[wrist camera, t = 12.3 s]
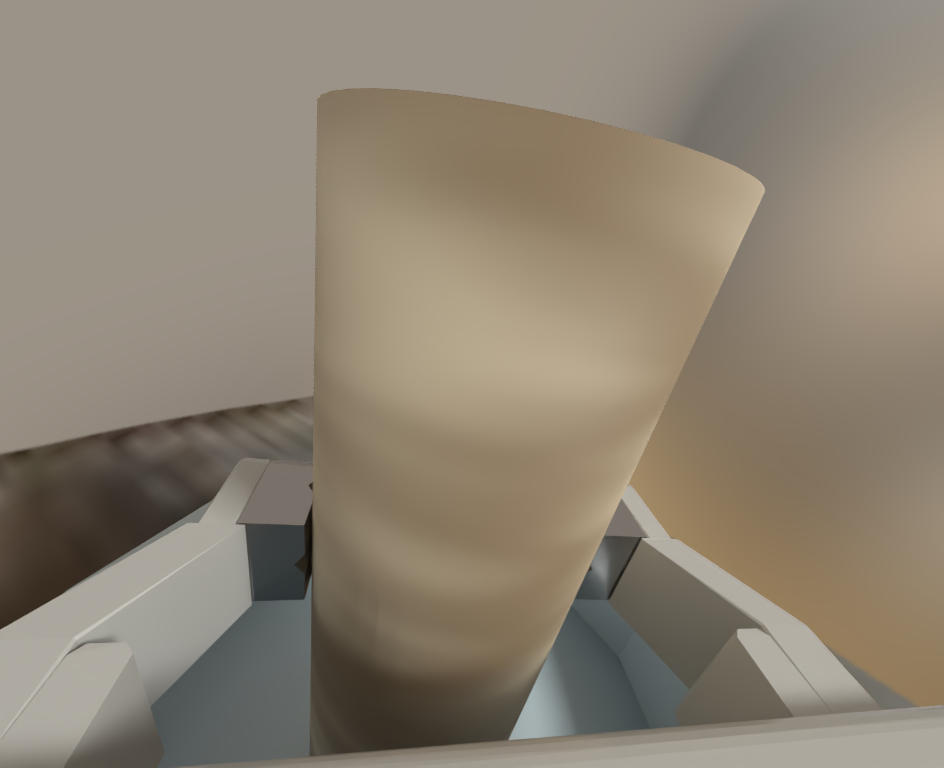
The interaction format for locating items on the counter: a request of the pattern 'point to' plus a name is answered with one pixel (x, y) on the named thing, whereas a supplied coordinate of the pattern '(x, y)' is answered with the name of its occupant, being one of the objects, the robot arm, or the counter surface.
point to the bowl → (289, 668)
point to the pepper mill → (484, 388)
